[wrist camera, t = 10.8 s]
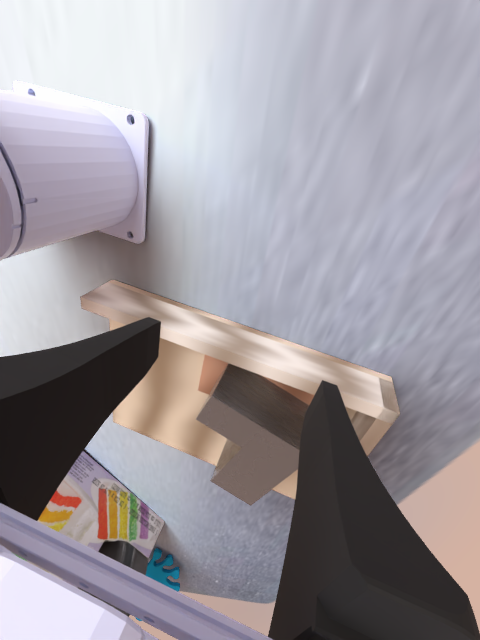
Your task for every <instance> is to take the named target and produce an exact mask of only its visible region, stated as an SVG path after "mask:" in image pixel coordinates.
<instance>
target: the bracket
mask: <svg viewBox="0 0 480 640" xmlns="http://www.w3.org/2000/svg"><path fill="white" fill-rule="evenodd" d="M308 407H309V405H308V404H306V403H305V402H303V401H301V400H300V399H298V398H297V397H295V396H293V395H292V394H290V393H289V392H287V391H285V390H284V389H282V388H280V387H279V386H277V385H276V384H274V383H272V382H271V381H269V380H267V379H266V378H264V377H263V376H261V375H259V374H256V373H254V372H251V371H248V370H246V369H243V368H240V367H238V366H235V365H232V364H229V363H228V364H227V366H226V367H225V369H224V370H223V372H222V373H221V375H220V376H219V378H218V379H217V381H216V383H215V385H214V387H213V388H212V390H211V392H210V394H209V396H208V398H207V399H206V401H205V403H204V405H203V407H202V409H201V410H200V412H199V414H198V416H197V418H196V420H198V421H199V422H201V423H202V424H204V425H206V426H207V427H209V428H211V429H212V430H214V431H215V432H217V433H219V434H220V435H222V436H224V437H225V438H227V440H226V443H225V446H224V448H223V451H222V453H221V456H220V458H219V461H218V463H217V466H216V468H215V471H214V473H213V476H212V478H211V482H213V483H215V484H216V485H218V486H220V487H221V488H223V489H224V490H226V491H228V492H229V493H231V494H233V495H234V496H236V497H237V498H239V499H241V500H242V501H244V502H246V503H247V504H249V505H250V506H251V505H252V504H253V503H255V502H256V501H257V500H259V499H260V498H261V497H262V496H264V495H265V494H266V493H268V492H269V491H270V490H271V489H273V488H274V487H275V486H277V485H278V484H279V483H281V482H282V481H283V480H284V479H286V478H287V477H288V476H290V475H291V474H292V473H294V472H295V471H296V470H297V469H298V464H299V451H300V439H301V432H302V427H303V422H304V417H305V413H306V411H307V409H308Z"/></svg>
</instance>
